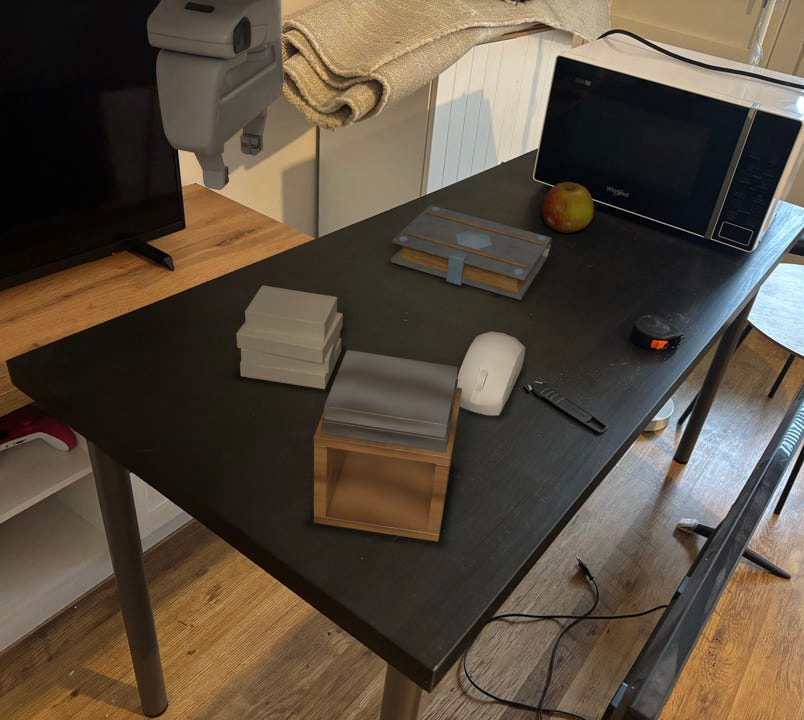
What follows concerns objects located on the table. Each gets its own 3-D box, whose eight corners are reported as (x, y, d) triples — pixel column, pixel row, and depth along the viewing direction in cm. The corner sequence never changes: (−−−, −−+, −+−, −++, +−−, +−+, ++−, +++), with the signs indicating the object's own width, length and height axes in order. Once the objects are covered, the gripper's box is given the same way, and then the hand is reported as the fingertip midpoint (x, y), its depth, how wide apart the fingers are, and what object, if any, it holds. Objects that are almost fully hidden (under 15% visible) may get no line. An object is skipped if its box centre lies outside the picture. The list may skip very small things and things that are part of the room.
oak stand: (438, 541, 70) (454, 431, 62) (313, 522, 70) (313, 410, 62) (450, 469, 78) (465, 363, 70) (338, 452, 78) (341, 344, 70)
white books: (326, 392, 86) (326, 350, 83) (237, 378, 86) (233, 335, 82) (344, 349, 93) (345, 309, 90) (261, 336, 93) (259, 295, 90)
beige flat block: (324, 342, 84) (324, 323, 82) (245, 329, 84) (244, 311, 82) (336, 314, 89) (337, 296, 87) (262, 303, 89) (262, 285, 87)
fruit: (538, 213, 135) (546, 172, 131) (587, 220, 136) (596, 179, 131) (538, 236, 128) (547, 193, 123) (590, 244, 128) (600, 201, 123)
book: (548, 258, 121) (553, 230, 118) (519, 303, 108) (525, 274, 105) (430, 225, 125) (433, 198, 122) (389, 265, 112) (391, 235, 109)
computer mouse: (447, 406, 87) (453, 363, 83) (479, 349, 97) (485, 309, 94) (499, 422, 86) (507, 379, 82) (526, 362, 96) (534, 322, 93)
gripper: (234, -12, 71) (240, 130, 79) (135, 26, 54) (155, 203, 62) (299, -1, 71) (299, 140, 79) (220, 40, 54) (230, 215, 62)
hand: (235, 168), depth 70 cm, fingers open, 8 cm apart
